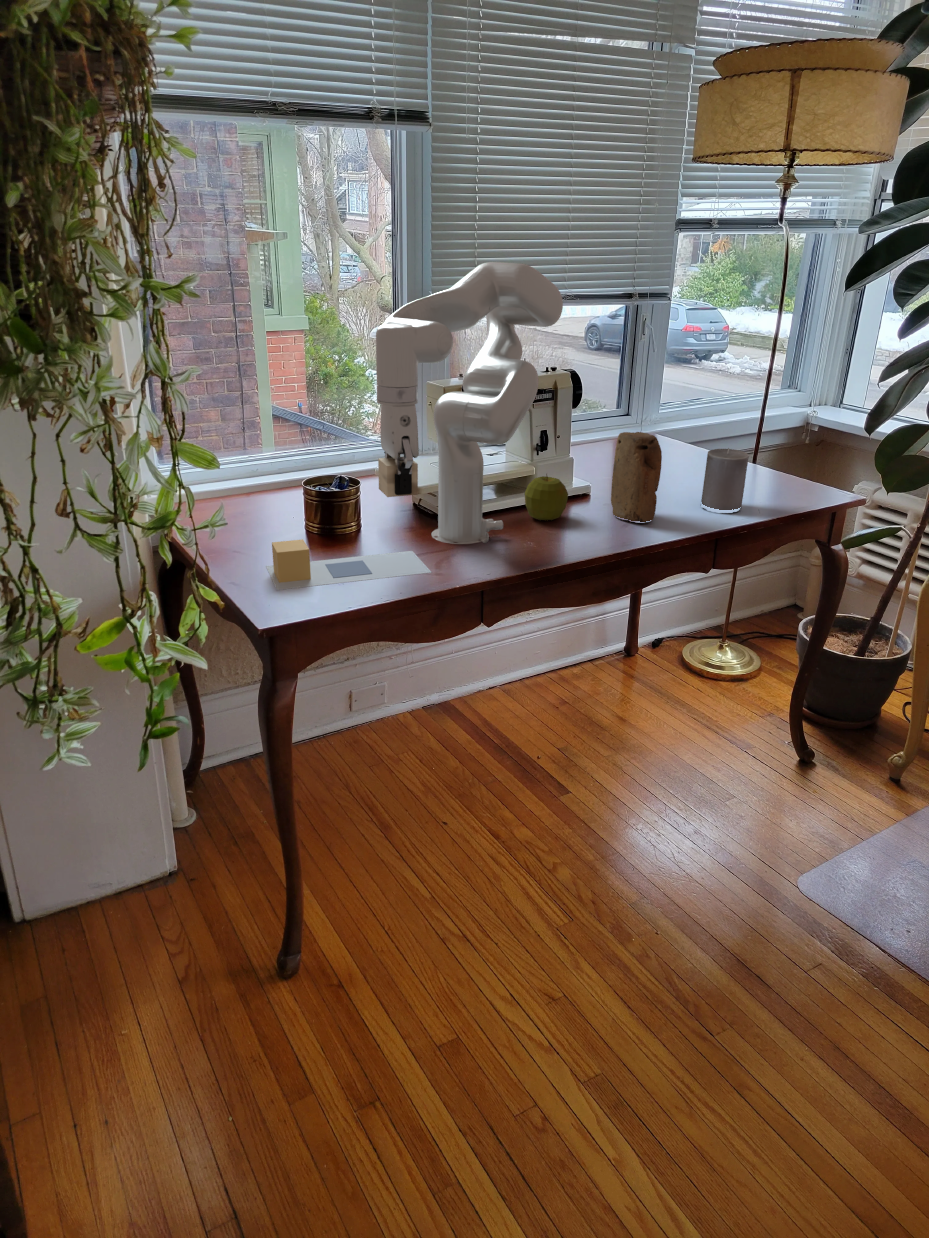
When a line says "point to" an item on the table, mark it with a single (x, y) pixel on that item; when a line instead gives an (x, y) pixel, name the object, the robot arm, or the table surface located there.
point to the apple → (545, 498)
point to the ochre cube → (291, 560)
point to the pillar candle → (724, 479)
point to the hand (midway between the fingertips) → (398, 488)
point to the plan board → (356, 569)
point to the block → (636, 476)
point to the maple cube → (388, 477)
